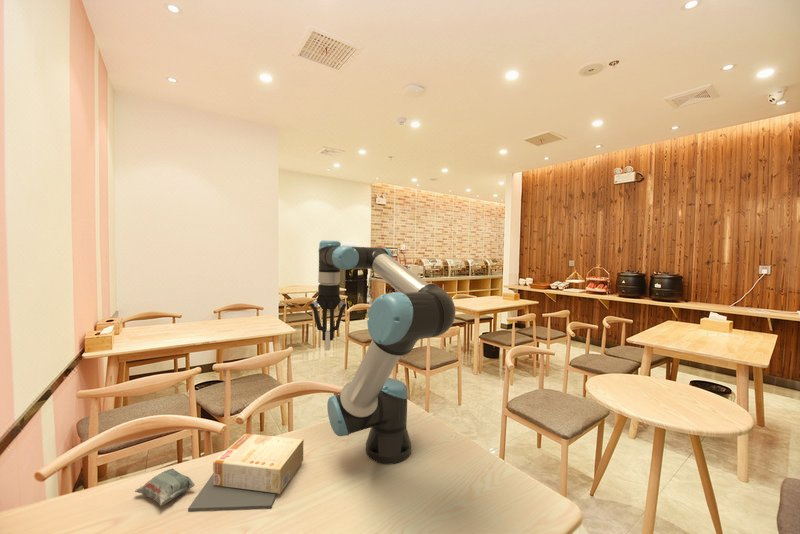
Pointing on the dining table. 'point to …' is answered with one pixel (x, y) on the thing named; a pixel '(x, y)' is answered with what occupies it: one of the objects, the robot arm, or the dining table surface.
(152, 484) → the packaged food
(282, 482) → the coffeecake box
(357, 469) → the dining table surface
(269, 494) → the mat
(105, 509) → the dining table surface
